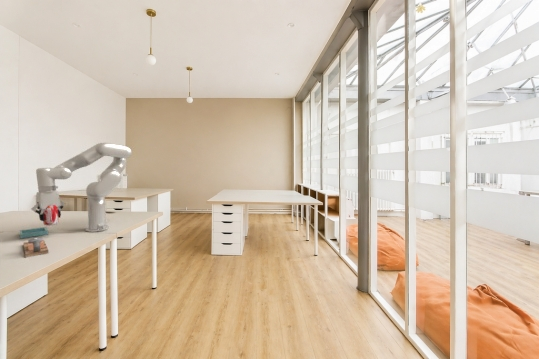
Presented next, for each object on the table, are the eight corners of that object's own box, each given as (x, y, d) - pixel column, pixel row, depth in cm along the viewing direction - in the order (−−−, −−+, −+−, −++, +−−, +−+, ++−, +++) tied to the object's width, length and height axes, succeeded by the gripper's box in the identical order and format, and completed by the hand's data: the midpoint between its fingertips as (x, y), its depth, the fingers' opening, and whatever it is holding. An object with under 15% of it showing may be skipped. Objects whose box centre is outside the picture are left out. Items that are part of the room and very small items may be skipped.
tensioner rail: (48, 253, 122) (47, 240, 122) (25, 257, 117) (25, 243, 116) (43, 242, 139) (43, 230, 138) (23, 245, 133) (22, 233, 133)
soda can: (41, 226, 142) (38, 206, 141) (45, 223, 148) (43, 204, 147) (57, 225, 145) (54, 204, 144) (60, 222, 151) (58, 202, 150)
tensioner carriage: (44, 247, 125) (43, 238, 124) (28, 250, 121) (28, 240, 120) (42, 245, 129) (42, 235, 129) (27, 247, 125) (27, 238, 125)
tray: (48, 234, 153) (48, 230, 152) (20, 238, 144) (20, 234, 144) (46, 230, 161) (45, 227, 161) (19, 234, 152) (19, 230, 152)
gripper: (60, 186, 154) (64, 215, 156) (24, 191, 138) (28, 222, 140) (68, 187, 151) (71, 216, 153) (31, 191, 135) (35, 223, 137)
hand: (50, 218), depth 146 cm, fingers closed on soda can, 7 cm apart
